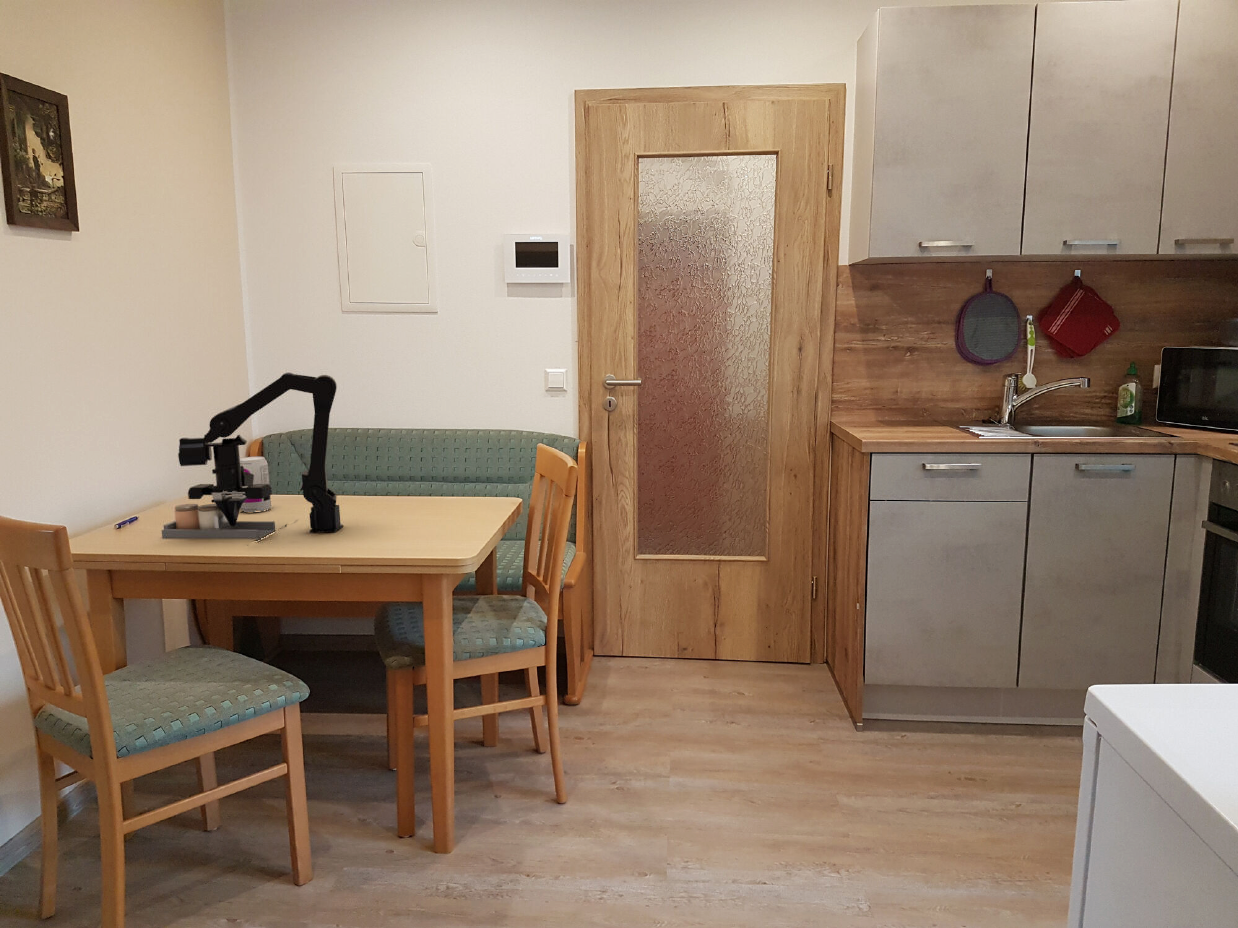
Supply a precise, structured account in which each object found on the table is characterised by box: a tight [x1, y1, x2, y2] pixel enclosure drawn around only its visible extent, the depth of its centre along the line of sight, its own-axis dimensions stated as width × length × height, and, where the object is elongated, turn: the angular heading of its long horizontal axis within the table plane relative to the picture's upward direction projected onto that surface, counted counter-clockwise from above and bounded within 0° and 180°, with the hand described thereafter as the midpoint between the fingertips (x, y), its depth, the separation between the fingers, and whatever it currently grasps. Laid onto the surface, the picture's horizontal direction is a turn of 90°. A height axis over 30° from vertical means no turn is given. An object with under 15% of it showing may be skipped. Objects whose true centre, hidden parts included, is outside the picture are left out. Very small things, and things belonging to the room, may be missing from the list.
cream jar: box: [198, 503, 222, 529], centre depth 211 cm, size 6×6×7 cm
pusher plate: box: [214, 513, 234, 530], centre depth 211 cm, size 1×7×5 cm, turn 176°
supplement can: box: [240, 456, 272, 513], centre depth 240 cm, size 8×8×15 cm
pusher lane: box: [161, 520, 276, 541], centre depth 211 cm, size 24×10×4 cm, turn 86°
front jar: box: [174, 503, 200, 529], centre depth 211 cm, size 6×6×7 cm
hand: (233, 525), depth 211 cm, fingers closed
